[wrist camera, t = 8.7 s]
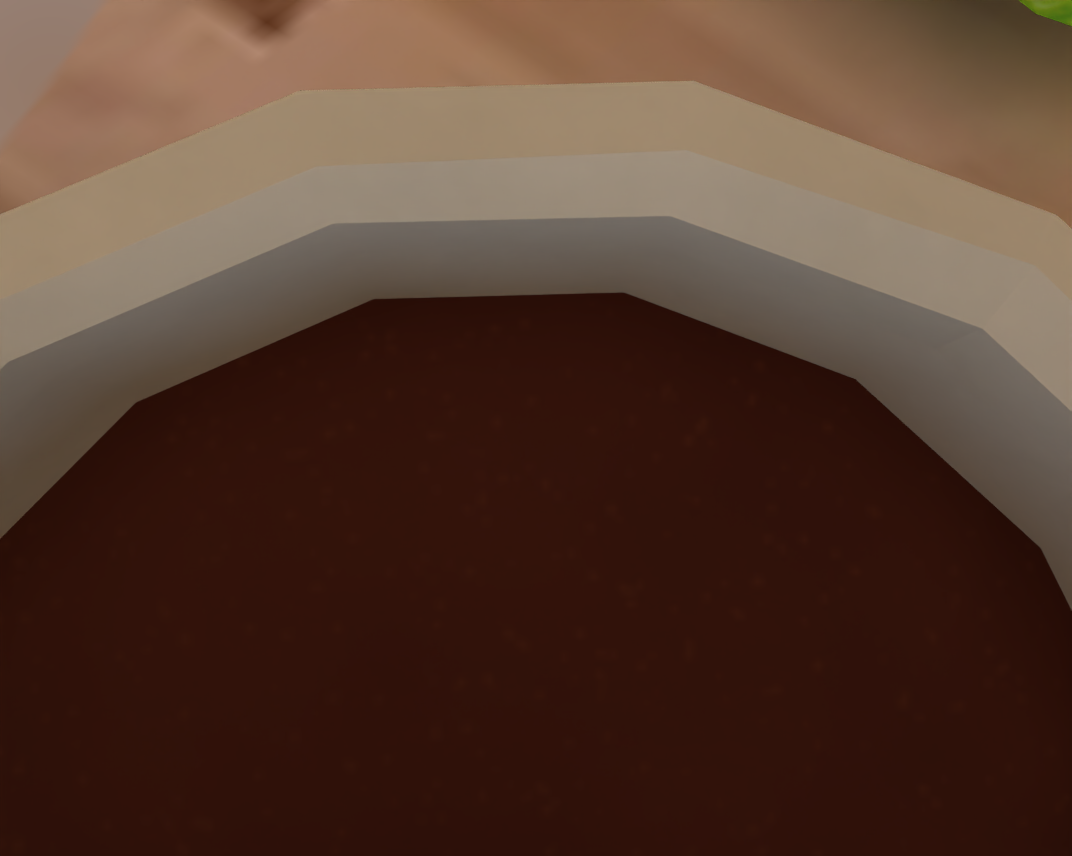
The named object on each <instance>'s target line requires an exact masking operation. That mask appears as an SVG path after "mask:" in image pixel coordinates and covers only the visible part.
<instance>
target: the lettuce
mask: <svg viewBox="0 0 1072 856" xmlns="http://www.w3.org/2000/svg"><path fill="white" fill-rule="evenodd" d="M1019 1H1020V2H1022V3H1023V4H1024V5H1025V6H1027V7H1028V8H1029V9H1030V10H1031V11H1033V12H1034V13H1035V14H1038V15H1041V16H1044V17H1047V18H1049V19H1052V20H1055V21H1058V22H1061V23H1064V24H1067V25H1070V26H1072V0H1019Z"/></svg>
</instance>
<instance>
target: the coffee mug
mask: <svg viewBox="0 0 1072 856" xmlns="http://www.w3.org/2000/svg"><path fill="white" fill-rule="evenodd" d="M0 856H1072V229H1071V228H1070V227H1069V226H1068V225H1067V224H1066V223H1065V222H1064V221H1063V220H1062V219H1060V218H1059V217H1058V216H1057V215H1055V214H1053V213H1050V212H1047V211H1045V210H1042V209H1039V208H1036V207H1034V206H1031V205H1028V204H1026V203H1023V202H1020V201H1018V200H1015V199H1012V198H1009V197H1007V196H1004V195H1001V194H999V193H996V192H993V191H990V190H988V189H985V188H982V187H980V186H977V185H974V184H972V183H969V182H966V181H963V180H961V179H958V178H955V177H953V176H950V175H947V174H944V173H942V172H939V171H936V170H934V169H931V168H928V167H926V166H923V165H920V164H917V163H915V162H912V161H909V160H907V159H904V158H901V157H898V156H896V155H893V154H890V153H888V152H885V151H882V150H880V149H877V148H874V147H871V146H869V145H866V144H863V143H861V142H858V141H855V140H853V139H850V138H847V137H844V136H842V135H839V134H836V133H834V132H831V131H828V130H825V129H823V128H820V127H817V126H815V125H812V124H809V123H807V122H804V121H801V120H798V119H796V118H793V117H790V116H788V115H785V114H782V113H779V112H777V111H774V110H771V109H769V108H766V107H763V106H761V105H758V104H755V103H752V102H750V101H747V100H744V99H742V98H739V97H736V96H733V95H731V94H728V93H725V92H723V91H720V90H717V89H715V88H712V87H709V86H706V85H704V84H701V83H698V82H696V81H668V82H627V83H586V84H545V85H504V86H463V87H422V88H381V89H340V90H300V91H298V92H295V93H293V94H290V95H288V96H286V97H283V98H281V99H278V100H276V101H274V102H271V103H269V104H266V105H264V106H261V107H259V108H257V109H254V110H252V111H249V112H247V113H244V114H242V115H240V116H237V117H235V118H232V119H230V120H228V121H225V122H223V123H220V124H218V125H215V126H213V127H211V128H208V129H206V130H203V131H201V132H198V133H196V134H194V135H191V136H189V137H186V138H184V139H182V140H179V141H177V142H174V143H172V144H169V145H167V146H165V147H162V148H160V149H157V150H155V151H153V152H150V153H148V154H145V155H143V156H140V157H138V158H136V159H133V160H131V161H128V162H126V163H123V164H121V165H119V166H116V167H114V168H111V169H109V170H107V171H104V172H102V173H99V174H97V175H94V176H92V177H90V178H87V179H85V180H82V181H80V182H77V183H75V184H73V185H70V186H68V187H65V188H63V189H61V190H58V191H56V192H53V193H51V194H48V195H46V196H44V197H41V198H39V199H36V200H34V201H31V202H29V203H27V204H24V205H22V206H19V207H17V208H15V209H12V210H10V211H7V212H5V213H2V214H0Z"/></svg>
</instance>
